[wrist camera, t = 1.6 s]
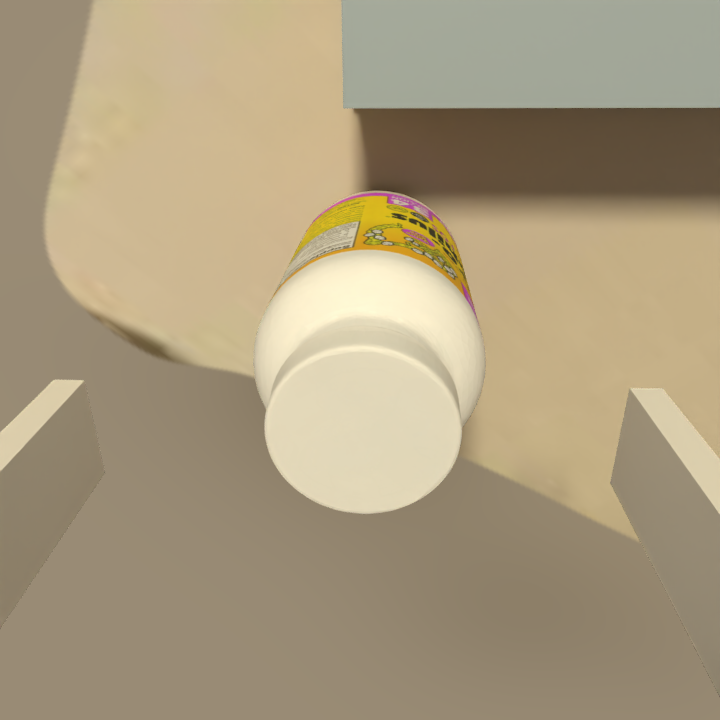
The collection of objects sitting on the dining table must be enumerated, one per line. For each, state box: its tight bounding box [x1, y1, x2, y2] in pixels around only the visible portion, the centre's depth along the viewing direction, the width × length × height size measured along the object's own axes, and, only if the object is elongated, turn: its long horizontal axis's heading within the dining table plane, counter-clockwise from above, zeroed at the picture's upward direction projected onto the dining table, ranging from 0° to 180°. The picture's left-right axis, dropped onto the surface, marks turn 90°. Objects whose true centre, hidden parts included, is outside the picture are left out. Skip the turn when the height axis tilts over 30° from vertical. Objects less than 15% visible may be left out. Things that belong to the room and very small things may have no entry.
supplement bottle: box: [253, 191, 486, 514], centre depth 21 cm, size 7×7×13 cm
